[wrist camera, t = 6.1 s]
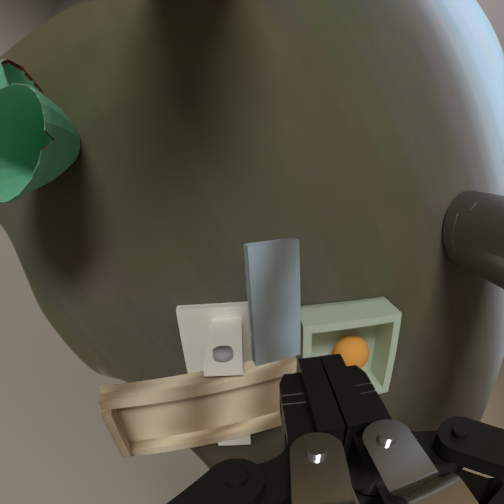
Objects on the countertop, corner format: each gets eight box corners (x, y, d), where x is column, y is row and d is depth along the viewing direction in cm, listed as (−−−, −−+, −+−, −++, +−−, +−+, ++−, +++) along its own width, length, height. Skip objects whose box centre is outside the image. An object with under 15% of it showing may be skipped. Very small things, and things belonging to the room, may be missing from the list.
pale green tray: (383, 296, 32) (401, 313, 27) (374, 370, 34) (387, 391, 30) (295, 306, 31) (303, 326, 27) (295, 382, 34) (301, 407, 29)
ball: (373, 346, 27) (333, 347, 28) (369, 378, 28) (331, 379, 29) (368, 327, 31) (332, 328, 32) (365, 358, 32) (330, 358, 33)
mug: (115, 161, 27) (62, 158, 17) (47, 209, 28) (-12, 225, 18) (71, 53, 24) (21, 23, 14) (11, 105, 25) (-45, 94, 15)
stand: (275, 299, 31) (288, 348, 22) (278, 390, 34) (288, 449, 25) (177, 305, 31) (155, 354, 22) (194, 394, 34) (184, 452, 25)
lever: (293, 237, 24) (312, 244, 21) (294, 404, 28) (308, 422, 25) (67, 269, 19) (55, 282, 16) (124, 440, 23) (125, 463, 20)
